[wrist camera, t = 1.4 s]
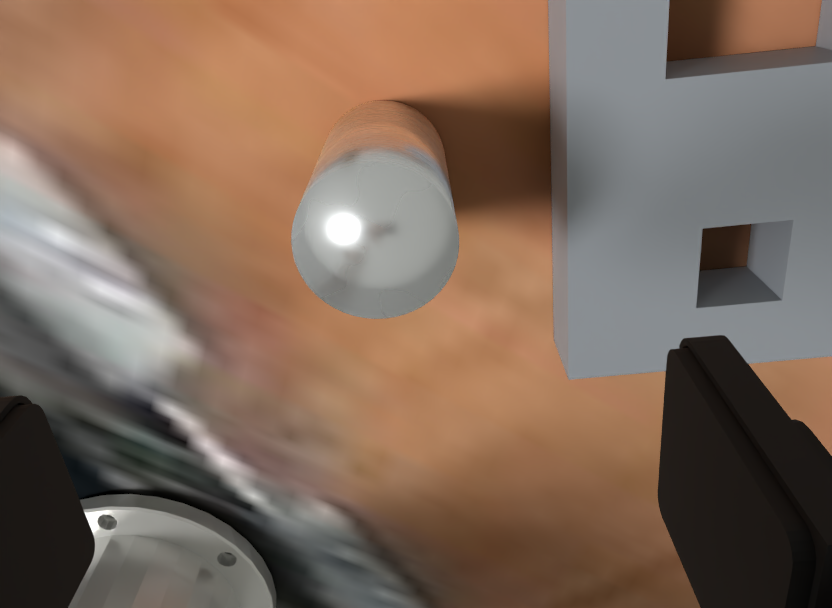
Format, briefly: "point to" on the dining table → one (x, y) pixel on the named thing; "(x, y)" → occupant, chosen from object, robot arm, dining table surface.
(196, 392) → the dining table surface
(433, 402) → the dining table surface
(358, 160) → the cylinder
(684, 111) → the grey hole board
